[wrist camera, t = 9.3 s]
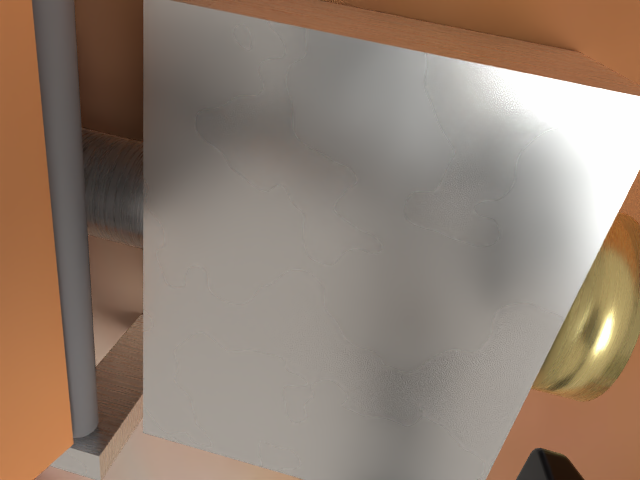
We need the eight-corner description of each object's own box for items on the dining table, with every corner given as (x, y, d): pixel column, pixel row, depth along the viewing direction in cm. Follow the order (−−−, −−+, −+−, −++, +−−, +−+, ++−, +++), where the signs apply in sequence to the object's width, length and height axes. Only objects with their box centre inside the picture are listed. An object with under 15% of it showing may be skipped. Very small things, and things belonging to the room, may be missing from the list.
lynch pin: (541, 323, 15) (577, 444, 11) (116, 217, 16) (18, 293, 12) (607, 184, 13) (679, 274, 9) (113, 74, 14) (-7, 113, 10)
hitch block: (437, 416, 18) (438, 583, 13) (50, 311, 19) (-81, 426, 14) (620, -51, 11) (765, -68, 6) (-1, -162, 12) (-283, -249, 8)
